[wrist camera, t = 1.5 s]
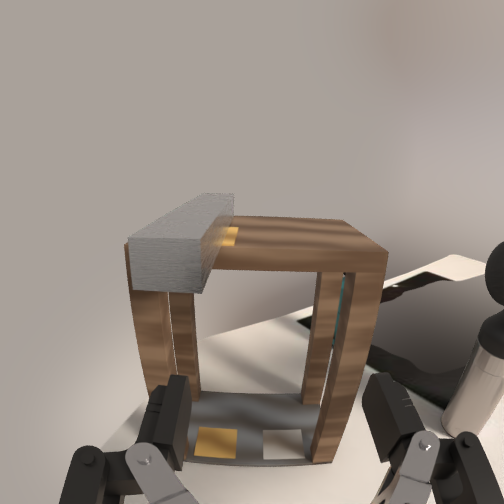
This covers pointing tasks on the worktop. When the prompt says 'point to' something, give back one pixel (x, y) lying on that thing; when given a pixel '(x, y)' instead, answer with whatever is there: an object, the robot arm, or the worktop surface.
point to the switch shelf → (320, 342)
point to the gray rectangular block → (181, 245)
